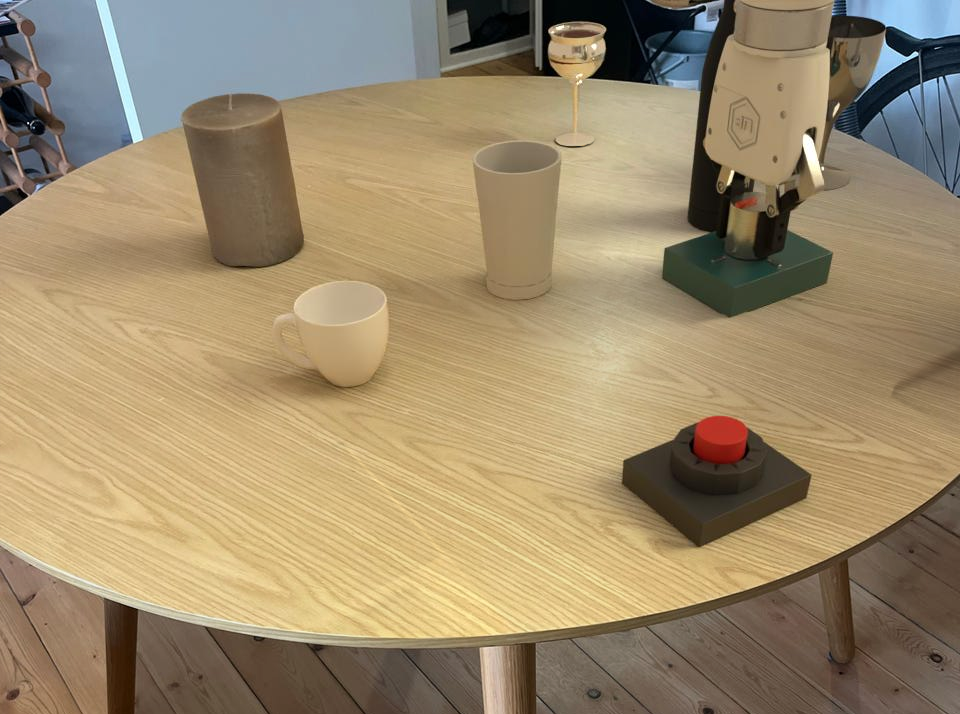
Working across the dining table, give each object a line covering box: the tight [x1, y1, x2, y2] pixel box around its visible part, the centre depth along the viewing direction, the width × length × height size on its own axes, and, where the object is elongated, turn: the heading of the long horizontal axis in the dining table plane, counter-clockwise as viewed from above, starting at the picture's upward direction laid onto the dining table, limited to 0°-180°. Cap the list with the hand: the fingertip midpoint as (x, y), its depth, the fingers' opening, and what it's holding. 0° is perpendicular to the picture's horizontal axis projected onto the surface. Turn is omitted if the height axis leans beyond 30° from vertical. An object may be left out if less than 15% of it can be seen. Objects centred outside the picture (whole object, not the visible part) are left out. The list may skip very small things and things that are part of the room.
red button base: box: [621, 421, 813, 548], centre depth 74 cm, size 10×9×4 cm
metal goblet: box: [799, 15, 887, 191], centre depth 109 cm, size 8×8×15 cm
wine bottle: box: [686, 0, 756, 232], centre depth 97 cm, size 6×6×30 cm
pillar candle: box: [180, 92, 305, 268], centre depth 103 cm, size 10×10×15 cm
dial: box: [724, 191, 766, 260], centre depth 94 cm, size 4×4×5 cm
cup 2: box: [472, 139, 563, 301], centre depth 95 cm, size 8×8×12 cm
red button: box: [693, 415, 748, 464], centre depth 72 cm, size 4×4×2 cm
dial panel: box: [661, 229, 834, 319], centre depth 97 cm, size 12×10×3 cm
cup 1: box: [271, 280, 390, 388], centre depth 87 cm, size 8×10×7 cm
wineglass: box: [547, 21, 607, 144], centre depth 121 cm, size 7×7×12 cm
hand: (749, 242), depth 96 cm, fingers closed on dial, 4 cm apart
